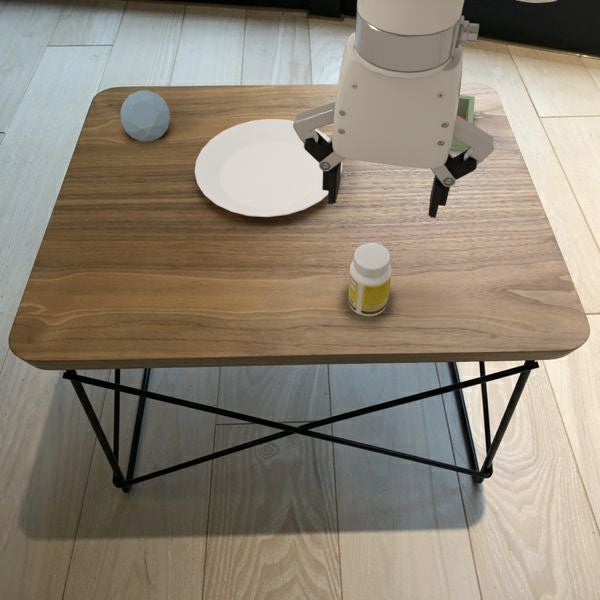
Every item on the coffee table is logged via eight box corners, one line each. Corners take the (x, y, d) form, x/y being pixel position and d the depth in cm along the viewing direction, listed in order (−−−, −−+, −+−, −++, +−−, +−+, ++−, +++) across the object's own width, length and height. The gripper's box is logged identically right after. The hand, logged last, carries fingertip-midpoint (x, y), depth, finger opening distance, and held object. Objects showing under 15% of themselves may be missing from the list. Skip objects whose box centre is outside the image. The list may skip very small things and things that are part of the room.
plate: (352, 139, 93) (353, 127, 91) (326, 238, 81) (326, 226, 79) (222, 123, 96) (220, 111, 95) (177, 216, 84) (174, 204, 82)
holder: (371, 108, 98) (373, 86, 95) (469, 118, 96) (474, 96, 92) (364, 140, 93) (365, 118, 90) (467, 151, 91) (472, 129, 88)
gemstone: (130, 91, 97) (120, 85, 92) (178, 98, 97) (171, 93, 92) (125, 140, 98) (115, 137, 93) (172, 147, 98) (165, 144, 93)
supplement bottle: (394, 297, 75) (401, 251, 68) (374, 323, 72) (380, 278, 66) (360, 280, 76) (364, 233, 70) (340, 306, 74) (342, 260, 67)
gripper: (523, 18, 47) (474, 186, 61) (301, -2, 49) (303, 164, 63) (525, 73, 43) (472, 241, 56) (281, 48, 45) (287, 216, 58)
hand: (382, 200), depth 59 cm, fingers open, 9 cm apart
